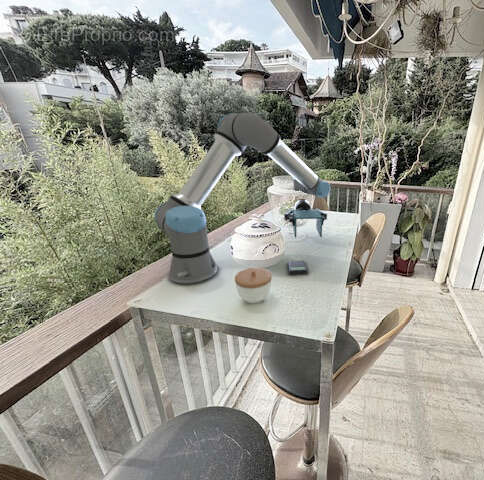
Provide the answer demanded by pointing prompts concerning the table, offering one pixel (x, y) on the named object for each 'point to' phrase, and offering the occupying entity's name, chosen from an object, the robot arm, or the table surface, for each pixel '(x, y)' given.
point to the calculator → (297, 267)
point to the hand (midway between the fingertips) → (308, 222)
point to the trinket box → (253, 284)
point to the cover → (308, 215)
